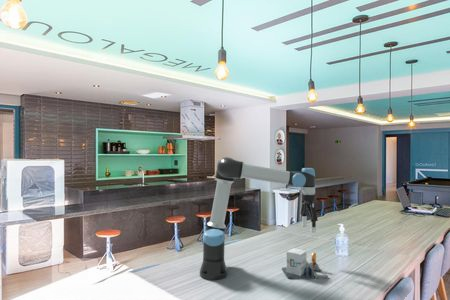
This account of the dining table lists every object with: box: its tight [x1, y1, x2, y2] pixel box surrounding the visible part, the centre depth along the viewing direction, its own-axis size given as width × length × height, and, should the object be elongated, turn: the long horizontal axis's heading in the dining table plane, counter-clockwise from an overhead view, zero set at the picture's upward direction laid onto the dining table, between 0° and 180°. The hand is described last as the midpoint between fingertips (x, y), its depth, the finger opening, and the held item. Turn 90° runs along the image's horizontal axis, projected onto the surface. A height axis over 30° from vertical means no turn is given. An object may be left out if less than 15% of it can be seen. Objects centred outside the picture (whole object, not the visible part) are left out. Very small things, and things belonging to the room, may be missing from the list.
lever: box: [308, 252, 319, 272], centre depth 178 cm, size 4×4×9 cm
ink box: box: [286, 247, 307, 276], centre depth 171 cm, size 8×8×12 cm
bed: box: [281, 260, 315, 280], centre depth 171 cm, size 14×13×5 cm
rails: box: [314, 266, 329, 280], centre depth 172 cm, size 7×16×2 cm, turn 3°
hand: (308, 229), depth 183 cm, fingers open, 13 cm apart
